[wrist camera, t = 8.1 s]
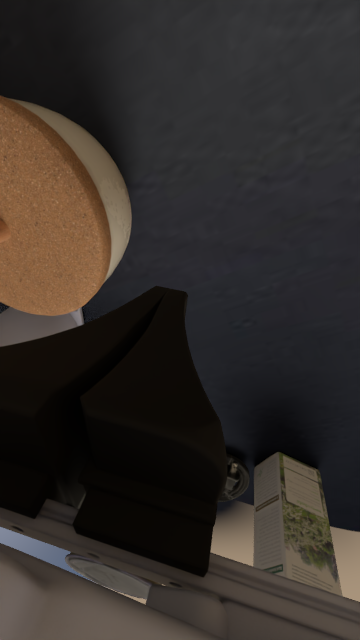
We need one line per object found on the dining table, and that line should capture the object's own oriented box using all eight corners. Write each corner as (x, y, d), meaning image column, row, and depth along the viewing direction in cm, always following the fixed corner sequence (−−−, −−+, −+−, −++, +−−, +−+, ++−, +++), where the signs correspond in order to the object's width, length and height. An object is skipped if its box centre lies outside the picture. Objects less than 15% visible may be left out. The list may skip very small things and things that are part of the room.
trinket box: (125, 77, 15) (-7, 27, 8) (169, 258, 21) (119, 330, 13) (-13, 128, 18) (-198, 128, 11) (58, 272, 24) (-32, 336, 17)
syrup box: (252, 467, 35) (249, 633, 23) (278, 448, 31) (290, 634, 20) (291, 484, 35) (307, 657, 24) (321, 468, 31) (357, 663, 20)
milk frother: (120, 403, 34) (45, 549, 22) (248, 416, 29) (241, 610, 17) (145, 462, 41) (100, 594, 30) (250, 480, 37) (245, 643, 25)
